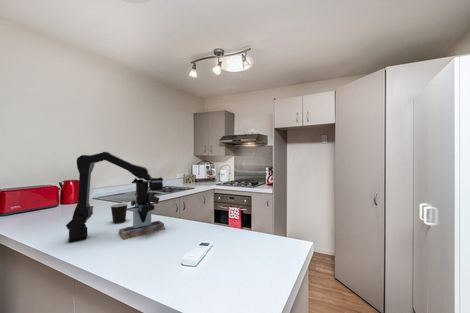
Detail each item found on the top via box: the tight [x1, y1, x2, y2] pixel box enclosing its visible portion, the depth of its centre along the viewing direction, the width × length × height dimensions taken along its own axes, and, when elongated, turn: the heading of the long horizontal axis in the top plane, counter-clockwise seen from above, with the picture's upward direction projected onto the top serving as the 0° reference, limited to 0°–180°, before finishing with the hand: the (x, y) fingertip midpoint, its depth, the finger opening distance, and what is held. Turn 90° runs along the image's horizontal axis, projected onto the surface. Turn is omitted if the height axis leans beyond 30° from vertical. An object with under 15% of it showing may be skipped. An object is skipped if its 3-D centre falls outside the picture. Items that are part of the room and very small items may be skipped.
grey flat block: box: [132, 208, 152, 228], centre depth 106 cm, size 8×3×9 cm, turn 132°
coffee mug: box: [110, 203, 128, 225], centre depth 124 cm, size 12×9×10 cm
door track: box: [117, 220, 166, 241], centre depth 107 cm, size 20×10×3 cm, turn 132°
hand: (142, 221), depth 106 cm, fingers closed on grey flat block, 3 cm apart
